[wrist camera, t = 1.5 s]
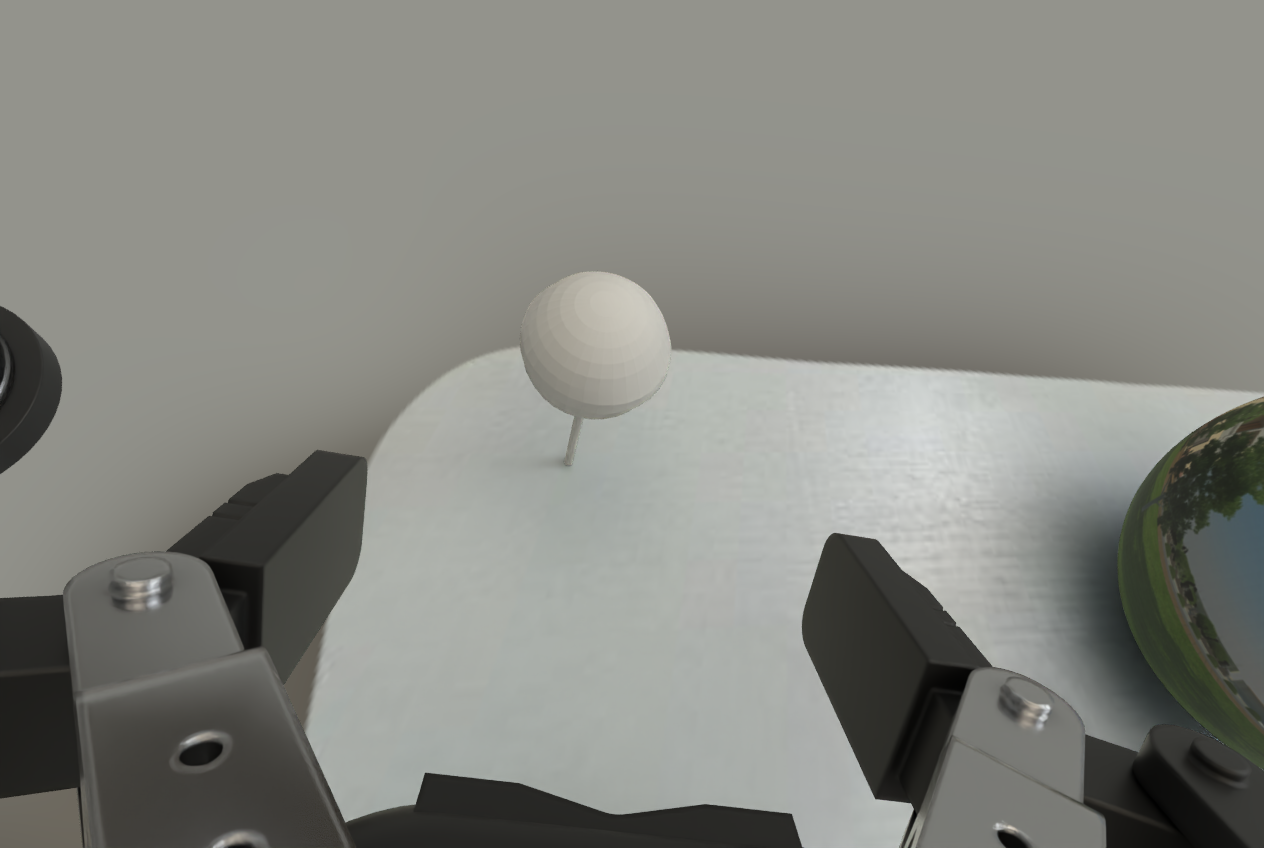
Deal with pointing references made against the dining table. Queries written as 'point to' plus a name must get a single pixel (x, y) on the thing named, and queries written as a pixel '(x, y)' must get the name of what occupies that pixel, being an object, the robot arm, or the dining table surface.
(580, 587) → the dining table surface
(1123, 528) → the decorative sphere
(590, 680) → the dining table surface
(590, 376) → the lollipop
